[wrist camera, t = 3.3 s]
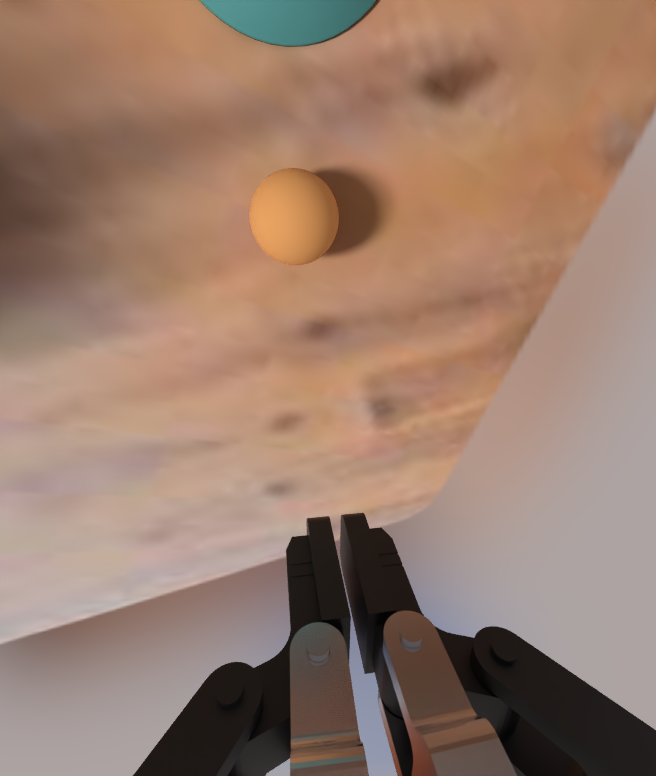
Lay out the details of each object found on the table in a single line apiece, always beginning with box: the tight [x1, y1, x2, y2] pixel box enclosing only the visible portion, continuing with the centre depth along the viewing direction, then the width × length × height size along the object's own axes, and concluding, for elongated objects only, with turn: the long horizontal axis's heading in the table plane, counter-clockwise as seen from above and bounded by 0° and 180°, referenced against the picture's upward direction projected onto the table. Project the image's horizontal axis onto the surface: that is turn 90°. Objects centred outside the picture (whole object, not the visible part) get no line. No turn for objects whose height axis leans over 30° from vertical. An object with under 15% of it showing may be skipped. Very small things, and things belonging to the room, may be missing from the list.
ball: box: [250, 168, 339, 265], centre depth 22 cm, size 5×5×5 cm
